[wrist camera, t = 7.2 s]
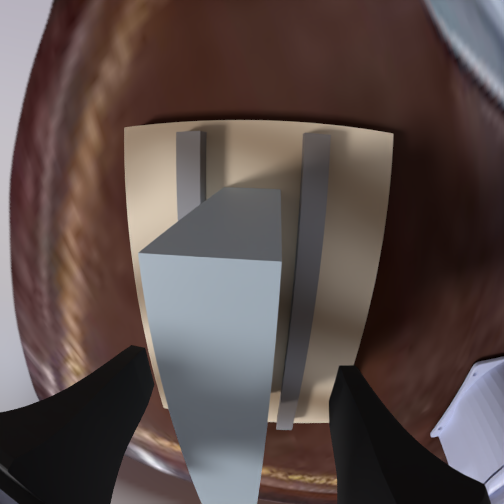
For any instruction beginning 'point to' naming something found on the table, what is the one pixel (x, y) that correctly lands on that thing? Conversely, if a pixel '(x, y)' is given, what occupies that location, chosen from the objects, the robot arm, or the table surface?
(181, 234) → the grey rectangular block
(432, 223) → the table surface
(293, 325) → the track board
